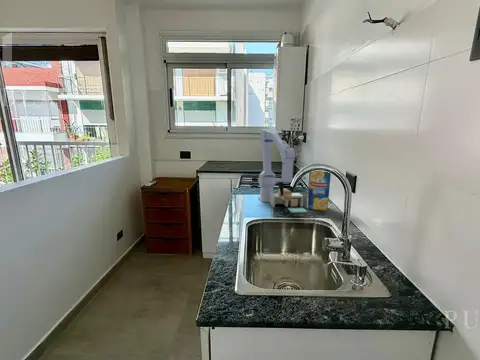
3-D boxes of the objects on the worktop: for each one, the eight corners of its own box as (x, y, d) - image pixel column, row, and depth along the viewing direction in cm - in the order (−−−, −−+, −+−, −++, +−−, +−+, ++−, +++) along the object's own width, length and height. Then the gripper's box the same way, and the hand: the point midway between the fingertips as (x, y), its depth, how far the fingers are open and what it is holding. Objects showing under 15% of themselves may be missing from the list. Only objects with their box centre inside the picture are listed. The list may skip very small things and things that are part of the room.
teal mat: (287, 208, 153) (287, 207, 153) (302, 208, 154) (302, 207, 154) (291, 212, 146) (291, 211, 146) (307, 212, 147) (307, 211, 147)
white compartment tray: (269, 203, 162) (270, 193, 161) (298, 203, 165) (299, 192, 164) (272, 207, 156) (273, 196, 154) (302, 206, 158) (303, 195, 157)
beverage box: (327, 210, 152) (331, 171, 148) (307, 208, 154) (310, 170, 149) (325, 206, 159) (329, 169, 154) (306, 205, 160) (309, 169, 156)
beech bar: (278, 196, 154) (278, 188, 153) (284, 196, 154) (285, 188, 154) (284, 200, 142) (284, 191, 141) (291, 200, 142) (291, 191, 142)
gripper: (276, 172, 138) (274, 197, 141) (303, 172, 140) (301, 197, 143) (272, 170, 145) (271, 194, 148) (298, 170, 147) (296, 194, 150)
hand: (285, 195), depth 146 cm, fingers closed on beech bar, 4 cm apart
